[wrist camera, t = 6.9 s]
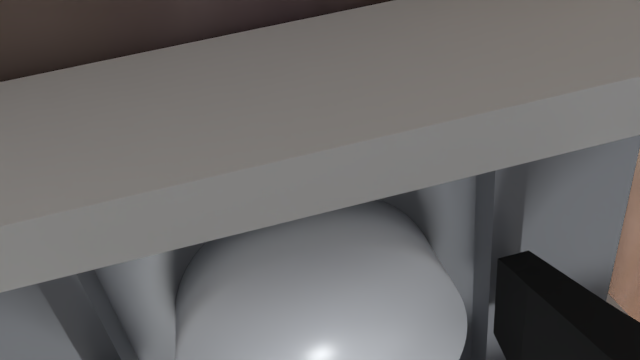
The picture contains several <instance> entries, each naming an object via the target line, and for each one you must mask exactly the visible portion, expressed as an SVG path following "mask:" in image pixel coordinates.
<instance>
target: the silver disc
mask: <svg viewBox="0 0 640 360" xmlns="http://www.w3.org/2000/svg"><path fill="white" fill-rule="evenodd" d="M466 336H467V313H466V310H465V306H464V303H463V300H462V298H461V296H460V294H459V292H458V290H457V289H456V287H455V285H454V284H453V282H452V280H451V279H450V277H449V275H448V274H447V272H446V271H445V269H444V267H443V266H442V264H441V262H440V261H439V259H438V257H437V256H436V254H435V252H434V251H433V249H432V247H431V246H430V244H429V243H428V241H427V239H426V238H425V236H424V234H423V233H422V231H421V230H420V229H419V228H418V226H417V225H416V224H415V223H414V222H413V221H412V220H411V219H410V218H409V217H408V216H407V215H405V214H404V213H403V212H401V211H400V210H398V209H397V208H395V207H393V206H392V205H389V204H387V203H385V202H383V201H381V200H374V201H370V202H366V203H362V204H358V205H354V206H349V207H345V208H341V209H337V210H333V211H329V212H325V213H321V214H317V215H313V216H309V217H305V218H301V219H297V220H293V221H289V222H285V223H281V224H277V225H273V226H268V227H264V228H260V229H256V230H252V231H248V232H244V233H240V234H236V235H232V236H228V237H224V238H220V239H216V240H212V241H208V242H206V243H205V244H204V245H203V246H202V247H201V249H200V250H199V251H198V252H197V253H196V254H195V256H194V257H193V259H192V260H191V262H190V264H189V265H188V267H187V268H186V270H185V273H184V275H183V277H182V280H181V282H180V285H179V289H178V293H177V297H176V334H175V360H459V359H460V356H461V354H462V352H463V349H464V345H465V341H466Z"/></svg>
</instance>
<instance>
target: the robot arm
mask: <svg viewBox="0 0 640 360" xmlns="http://www.w3.org/2000/svg"><path fill="white" fill-rule="evenodd" d="M493 333H494V335H495V337H496V340H497V342H498V344H499V346H500V348H501V350H502V352H503V354H504V356H505V358H506V360H640V322H638V321H636V320H635V319H633V318H632V317H630V316H628V315H627V314H625V313H624V312H622V311H620V310H619V309H617V308H616V307H614V306H612V305H611V304H609V303H608V302H606V301H605V300H603V299H602V298H600V297H598V296H597V295H595V294H594V293H592V292H591V291H589V290H588V289H586V288H585V287H583V286H582V285H580V284H579V283H577V282H576V281H574V280H573V279H571V278H570V277H568V276H567V275H565V274H564V273H562V272H561V271H559V270H558V269H556V268H555V267H553V266H552V265H550V264H549V263H547V262H546V261H544V260H542V259H541V258H539V257H538V256H536V255H535V254H533V253H532V252H530V251H529V250H528V251H524V252H520V253H517V254H513V255H509V256H505V257H502V258H498V261H497V278H496V295H495V313H494V330H493Z"/></svg>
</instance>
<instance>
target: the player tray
mask: <svg viewBox="0 0 640 360" xmlns="http://www.w3.org/2000/svg"><path fill="white" fill-rule="evenodd" d="M639 148H640V0H393V1H389V2H384V3H379V4H374V5H369V6H365V7H360V8H355V9H350V10H345V11H340V12H336V13H331V14H326V15H321V16H316V17H312V18H307V19H302V20H297V21H292V22H287V23H283V24H278V25H273V26H268V27H263V28H259V29H254V30H249V31H244V32H239V33H234V34H230V35H225V36H220V37H215V38H210V39H206V40H201V41H196V42H191V43H186V44H181V45H177V46H172V47H167V48H162V49H157V50H153V51H148V52H143V53H138V54H133V55H128V56H124V57H119V58H114V59H109V60H104V61H100V62H95V63H90V64H85V65H80V66H75V67H71V68H66V69H61V70H56V71H51V72H47V73H42V74H37V75H32V76H27V77H22V78H18V79H13V80H8V81H3V82H0V360H175V334H176V297H177V293H178V289H179V285H180V282H181V280H182V277H183V275H184V273H185V270H186V268H187V267H188V265H189V264H190V262H191V260H192V259H193V257H194V256H195V254H196V253H197V252H198V251H199V250H200V249H201V247H202V246H203V245H204V244H205V243H206V242H208V241H212V240H216V239H220V238H224V237H228V236H232V235H236V234H240V233H244V232H248V231H252V230H256V229H260V228H264V227H268V226H273V225H277V224H281V223H285V222H289V221H293V220H297V219H301V218H305V217H309V216H313V215H317V214H321V213H325V212H329V211H333V210H337V209H341V208H345V207H349V206H354V205H358V204H362V203H366V202H370V201H374V200H381V201H383V202H385V203H387V204H389V205H392V206H393V207H395V208H397V209H398V210H400V211H401V212H403V213H404V214H405V215H407V216H408V217H409V218H410V219H411V220H412V221H413V222H414V223H415V224H416V225H417V226H418V228H419V229H420V230H421V231H422V233H423V234H424V236H425V238H426V239H427V241H428V243H429V244H430V246H431V247H432V249H433V251H434V252H435V254H436V256H437V257H438V259H439V261H440V262H441V264H442V266H443V267H444V269H445V271H446V272H447V274H448V275H449V277H450V279H451V280H452V282H453V284H454V285H455V287H456V289H457V290H458V292H459V294H460V296H461V298H462V300H463V303H464V306H465V310H466V313H467V336H466V341H465V345H464V349H463V352H462V354H461V356H460V359H459V360H506V358H505V356H504V354H503V352H502V350H501V348H500V346H499V344H498V342H497V340H496V337H495V335H494V333H493V330H494V313H495V295H496V278H497V261H498V258H502V257H505V256H509V255H513V254H517V253H520V252H524V251H528V250H529V251H530V252H532V253H533V254H535V255H536V256H538V257H539V258H541V259H542V260H544V261H546V262H547V263H549V264H550V265H552V266H553V267H555V268H556V269H558V270H559V271H561V272H562V273H564V274H565V275H567V276H568V277H570V278H571V279H573V280H574V281H576V282H577V283H579V284H580V285H582V286H583V287H585V288H586V289H588V290H589V291H591V292H592V293H594V294H595V295H597V296H598V297H600V298H602V299H603V300H605V301H606V299H607V294H608V290H609V285H610V281H611V276H612V271H613V267H614V262H615V258H616V253H617V249H618V244H619V239H620V235H621V230H622V226H623V221H624V217H625V212H626V208H627V203H628V198H629V194H630V189H631V185H632V180H633V176H634V171H635V166H636V162H637V157H638V153H639Z"/></svg>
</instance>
